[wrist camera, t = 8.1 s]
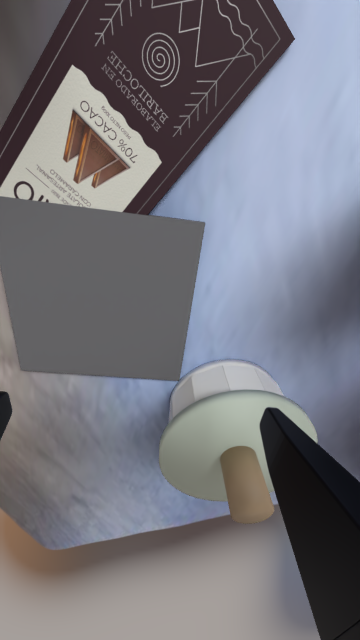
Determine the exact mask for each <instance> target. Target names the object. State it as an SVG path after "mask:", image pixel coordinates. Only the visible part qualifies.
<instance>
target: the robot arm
mask: <svg viewBox="0 0 360 640" xmlns="http://www.w3.org/2000/svg"><path fill="white" fill-rule="evenodd" d="M11 414H12V407H11V402H10V398H9V394H8V393H7V392H4V391H0V440H1V438H2V435H3V433H4V431H5V429H6V426H7V424H8V422H9V420H10V417H11ZM260 433H261V438H262V443H263V447H264V452H265V457H266V462H267V467H268V471H269V474H270V478H271V481H272V484H273V488H274V491H275V494H276V497H277V500H278V504H279V506H280V510H281V513H282V516H283V520H284V523H285V526H286V529H287V533H288V536H289V539H290V542H291V545H292V549H293V552H294V555H295V558H296V561H297V565H298V568H299V571H300V574H301V577H302V581H303V584H304V587H305V590H306V593H307V597H308V600H309V603H310V606H311V610H312V613H313V616H314V619H315V622H316V625H317V629H318V632H319V635H320V638H321V640H360V482H359V481H358V480H357V479H356V478H355V477H353V476H352V475H351V474H350V473H349V472H348V471H347V470H346V469H345V468H344V467H342V466H341V465H340V464H339V463H338V462H337V461H336V460H335V459H334V458H333V457H331V456H330V455H329V454H328V453H327V452H326V451H325V450H324V449H323V448H322V447H320V446H319V445H318V444H317V443H316V442H315V441H314V440H313V439H312V438H311V437H309V436H308V435H307V434H306V433H305V432H304V431H303V430H302V429H301V428H299V427H298V426H297V425H296V424H295V423H294V422H293V421H292V420H291V419H290V418H288V417H287V416H286V415H285V414H284V413H283V412H282V411H281V410H280V409H278V408H275V407H267V408H265V410H264V413H263V415H262V418H261V421H260Z"/></svg>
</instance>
